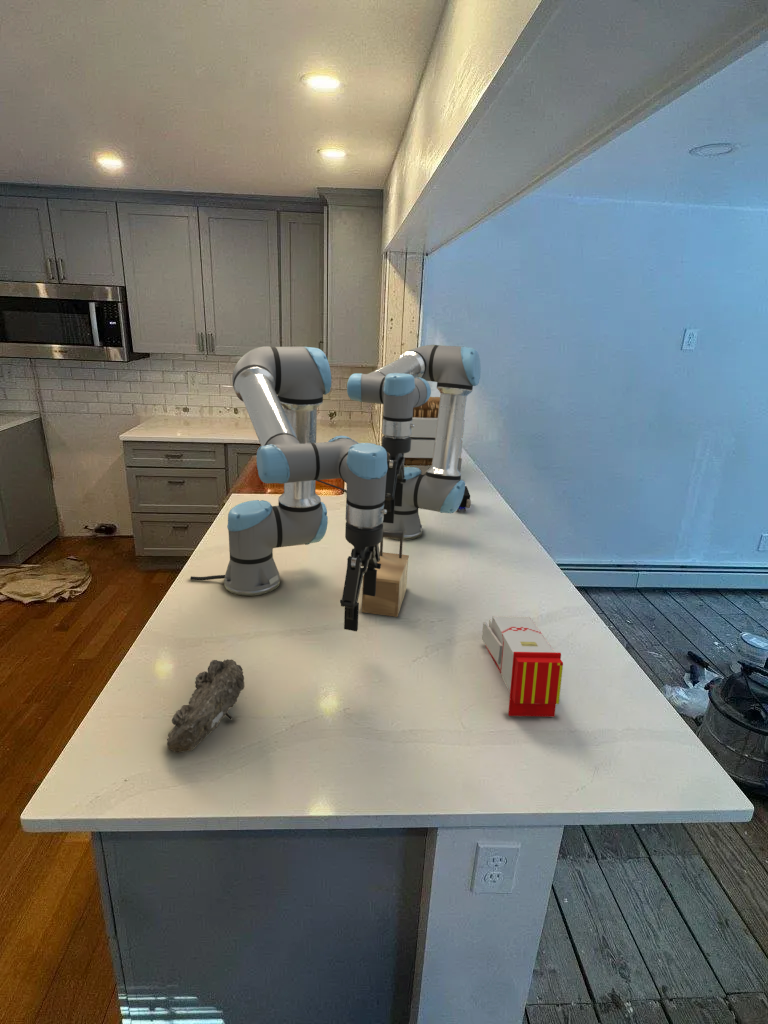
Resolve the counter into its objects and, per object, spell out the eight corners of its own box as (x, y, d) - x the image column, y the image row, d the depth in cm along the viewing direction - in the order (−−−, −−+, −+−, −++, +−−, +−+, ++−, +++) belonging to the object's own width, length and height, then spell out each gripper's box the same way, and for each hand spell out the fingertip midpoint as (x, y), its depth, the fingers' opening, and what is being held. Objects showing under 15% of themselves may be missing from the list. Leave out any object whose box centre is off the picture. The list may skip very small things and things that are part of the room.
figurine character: (470, 516, 223) (465, 500, 237) (473, 499, 220) (467, 484, 233) (453, 516, 223) (449, 500, 236) (455, 498, 220) (451, 483, 233)
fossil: (192, 660, 117) (244, 628, 112) (224, 691, 120) (276, 661, 115) (142, 746, 98) (202, 712, 93) (182, 779, 101) (242, 748, 96)
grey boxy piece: (382, 463, 289) (386, 382, 275) (445, 464, 293) (451, 384, 279) (390, 482, 257) (394, 392, 243) (460, 483, 261) (468, 394, 247)
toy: (528, 601, 136) (572, 659, 107) (523, 653, 139) (565, 722, 110) (478, 600, 136) (508, 657, 107) (474, 652, 139) (503, 722, 109)
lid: (375, 554, 160) (376, 526, 157) (408, 557, 158) (410, 529, 155) (362, 579, 144) (363, 548, 142) (399, 584, 143) (401, 553, 140)
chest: (373, 585, 162) (374, 555, 159) (406, 589, 160) (408, 559, 157) (361, 612, 148) (362, 579, 144) (397, 617, 146) (399, 584, 143)
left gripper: (365, 553, 101) (360, 649, 109) (397, 501, 123) (391, 584, 132) (325, 546, 102) (323, 642, 111) (364, 496, 124) (360, 579, 133)
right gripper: (403, 447, 133) (399, 531, 140) (417, 427, 156) (412, 500, 163) (372, 445, 134) (369, 528, 141) (390, 425, 157) (387, 498, 164)
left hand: (360, 611), depth 121 cm, fingers open, 13 cm apart
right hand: (392, 513), depth 152 cm, fingers open, 13 cm apart
